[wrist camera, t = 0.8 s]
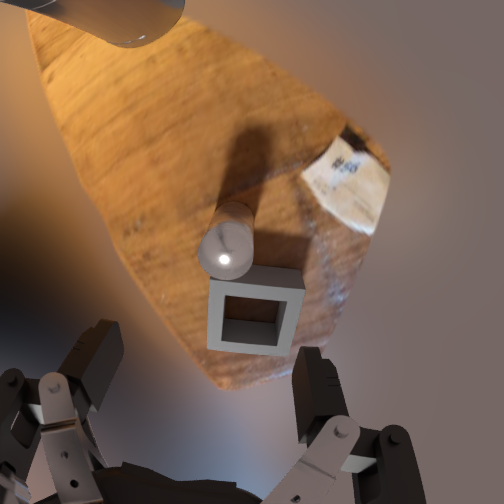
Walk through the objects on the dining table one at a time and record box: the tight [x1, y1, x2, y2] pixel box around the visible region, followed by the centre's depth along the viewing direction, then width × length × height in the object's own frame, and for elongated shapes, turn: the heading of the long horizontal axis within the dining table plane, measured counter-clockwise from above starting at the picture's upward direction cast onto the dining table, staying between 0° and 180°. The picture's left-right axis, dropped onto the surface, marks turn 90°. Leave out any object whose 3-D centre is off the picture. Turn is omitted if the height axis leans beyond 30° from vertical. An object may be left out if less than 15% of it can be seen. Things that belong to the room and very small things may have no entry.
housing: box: [207, 265, 306, 356], centre depth 29 cm, size 9×9×4 cm
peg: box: [198, 201, 254, 280], centre depth 23 cm, size 4×4×8 cm
